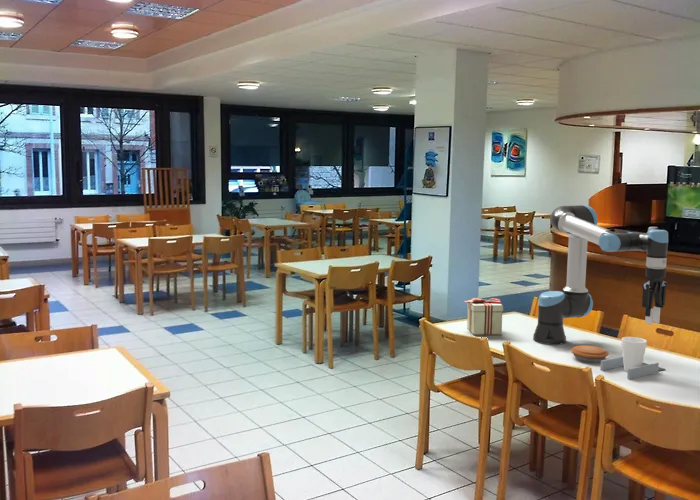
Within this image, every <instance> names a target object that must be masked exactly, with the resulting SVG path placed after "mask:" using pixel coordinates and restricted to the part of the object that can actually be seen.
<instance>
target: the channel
mask: <svg viewBox="0 0 700 500" xmlns="http://www.w3.org/2000/svg"><path fill="white" fill-rule="evenodd" d="M647 364H648V365H644V366H639V367H634V368H630V369H628V372H627V377H626V378H627V380H632V379H636V378H640V377H644V376H649V375H653V374H657V373H658V374H659V372H658V367H659V362H653V363H650V364H649V363H647ZM619 367H624V364H623V355H621V356H618V357H617V356H616V357H612V358H611V357H610V358H607V359H604V360H601V362H600V371H605V370H611V369H617V368H619Z"/></svg>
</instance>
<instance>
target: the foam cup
mask: <svg viewBox="0 0 700 500" xmlns="http://www.w3.org/2000/svg"><path fill="white" fill-rule="evenodd" d="M647 341H648V340H647V339H645V338H641V337H637V336H636V337H635V336H623V337H621V348H622V351H621V352H622V356H623V364H624V366H623V371H625V372H626V373H628V369H630V368H634V367H639V366H642V363H644V358H645V353H646V348H647V343H648V342H647Z"/></svg>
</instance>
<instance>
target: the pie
mask: <svg viewBox="0 0 700 500" xmlns="http://www.w3.org/2000/svg"><path fill="white" fill-rule="evenodd" d="M570 351H571V353H572V354H573V356H574V358H575V359H576V360H578V361H580V362H584V363H595V364H597V363H601V360H605V358H607V356H608V355H610V353H609V351H607V350H606V349H604V348H602V347H601V346H596V345H587V344H585V345H584V344H583V345H582V344H581V345H576V346H574V347H572V348H570Z"/></svg>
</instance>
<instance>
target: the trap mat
mask: <svg viewBox="0 0 700 500" xmlns="http://www.w3.org/2000/svg"><path fill="white" fill-rule="evenodd" d="M648 364H649V363H647V362H643V363H642V366H644V365H648ZM663 371H666V368H662V367H659V366H658V373H659V372H663Z"/></svg>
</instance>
